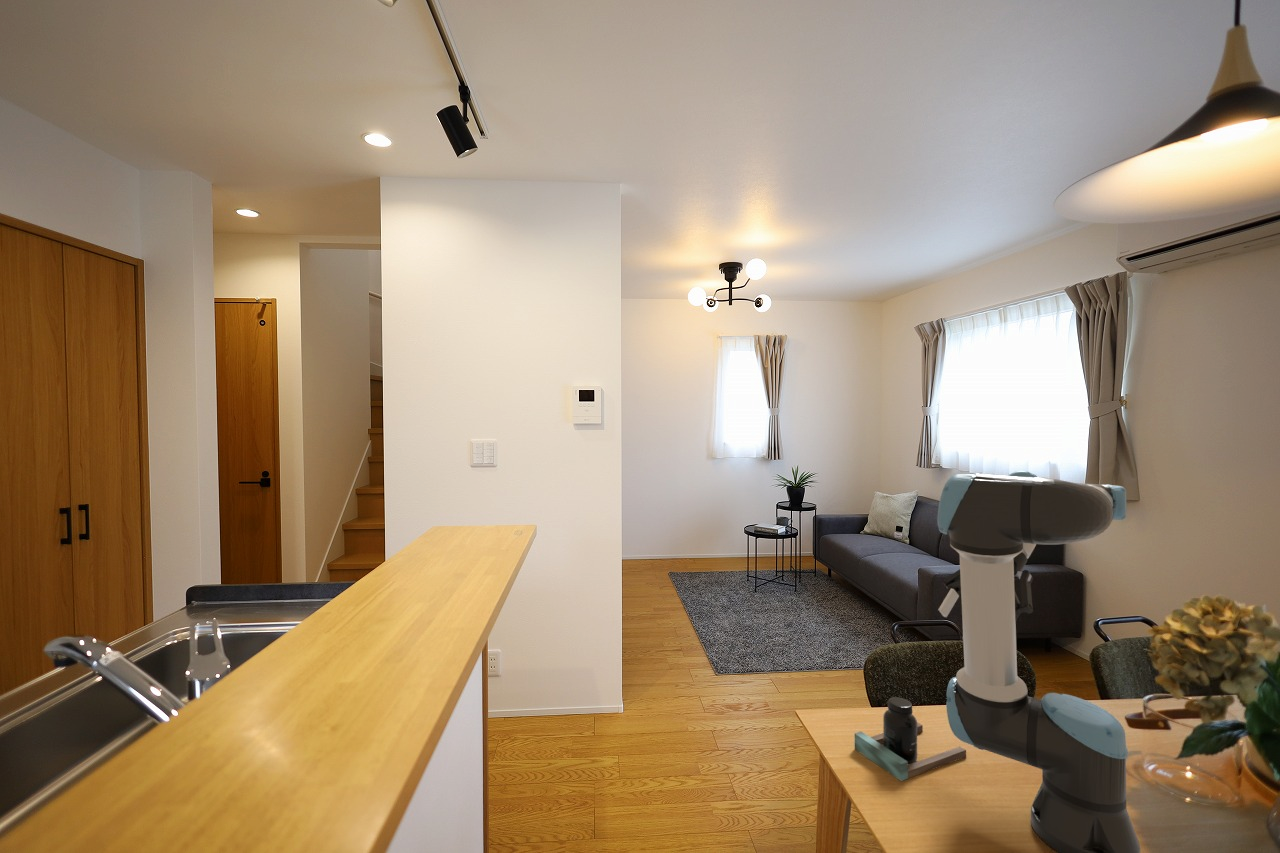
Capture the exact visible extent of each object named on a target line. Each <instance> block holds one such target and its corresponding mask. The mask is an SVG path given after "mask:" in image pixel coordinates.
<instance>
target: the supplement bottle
mask: <svg viewBox="0 0 1280 853" xmlns="http://www.w3.org/2000/svg"><path fill="white" fill-rule="evenodd" d="M887 703H888V704H887V708H888V709H887V710H885V711H884V713H883V720H882V721H883V723H882V724H883V726H882V727H883V728H882V729H883V731H882V732H883V746H884V747H886V748H887V749H889V750H890V751H892V752H894V753H895V754H897V755H898V756H900V757H901V758H903V759H904V760H906V761H907V762H908V765H909V764H912V763H915V762H917V761H918V733H917V722H918V720H917V718H916V717H915V715H914V714H913V713H914V712H913V711H914V710H913V704H912V702H911V701H909V700H908V699H906V698H903V697H897V696H893V697H890V698H889V699H888V701H887Z"/></svg>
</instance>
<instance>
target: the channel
mask: <svg viewBox="0 0 1280 853" xmlns="http://www.w3.org/2000/svg"><path fill="white" fill-rule="evenodd" d="M923 729H924V728H923V724H922V723H920V722H918V721H917V734H919V733H922V732H923ZM854 750H856V751H857V752H858V753H860V754H862V755H863V756H864V757H866V758H867V759H868V760H870V761H871V762H873V763H874V764H876V765H877V766H878V767H880V768H881V769H883V770H884V769H885V770H884V771H885V772H887V773H888V772H889V773H888V774H890V775H891V776H893V777H894V778H895V779H897V780H899V781H900V782H902V781H906V780H907V779H910V777H911V778H913V777H916V776H919V775H920V774H923V773H927V772H928V770H929V771H931V769H932V770H934V769H933V768H935V769H937V768H939V766H940V767H942V765H943V766H945V765H948V764H950V762H951V763H953V762H956V761H958V759H959V760H961V759H963V758H967V749H965V748H963V747H962V746H961V745H960V746H957V747H954V748H951V749H949V750H946V751H942V752H941V753H938V754H937V753H936V754H935V755H932V756H929V757H926V758H923V759H921V760H919V761H918V760H917V761H915V762H914V763H912V764H908V762H907V761H906V760H904V759H903V758H901V757H900V756H898V755H897V754H895V753H894V752H892V751H890V750H889V749H887V748H886V747H884V746H883V733H879V734H875V735H873V736H869V735H867V734H866V733H864V732H863V731H858V732H855V733H854ZM955 760H956V761H955ZM936 767H937V768H936ZM926 771H927V772H926Z"/></svg>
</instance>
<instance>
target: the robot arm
mask: <svg viewBox="0 0 1280 853" xmlns="http://www.w3.org/2000/svg"><path fill="white" fill-rule="evenodd" d="M1126 518H1127V489H1126V488H1125V487H1124V486H1121V485H1114V484H1113V485H1112V484H1108V483H1107V484H1106V483H1105V484H1104V483H1103V484H1102V483H1101V484H1098V483H1079V482H1077V483H1076V482H1071V481H1067V480H1061V479H1056V478H1049V477H1040V476H1039V477H1038V476H1037V474H1034V473H1032V472H1029V471H1026V470H1025V471H1024V470H1019V471H1014V472H1012V473H1010V474H1008V475H1002V474H1001V475H999V474H984V473H982V474H981V473H978V472H977V473H957V474H954V475H951V476H950V477H949V478H948V479H947V480H946V482H945V483H944V486H943V489H942V492H941V495H940V498H939V504H938V509H937V522H936V523H937V526H938V531H939V532H940V533H942V534H943V535H949V546H950V547H951V549H953V550H955V552H957V553H958V555H959V569H958V570H956V571H955V572H954V573H952V574H951V575H950V576H949V575H948V577H946V578H945V579H944V580H943V581H942V584H943V585H944V587H946V589H947V590H946V591H945V593H944V595H943V596H942V600H943V601H942V603H940V604H941V605H939V607H938V609H937V611H939V613H940V614H941V616H942V617H944V618H947V617H948V616H949V614H950V613H951V611H952V609H953V607H954V606H955V603H956V602H957V601H958V599H959V597H961V615H962V619H961V620H962V636H963V637H962V641H963V642H962V643H963V659H964V660H963V663H964V664H963V667H961V668H960V669H959V670H958V671H957V672H956V674H955V675H956V676H954V677H952V678H950V680H949V682H948V685H947V688H946V702H945V703H946V704H945V705H946V706H945V707H946V714H947V715H946V716H947V721H948V724H949V727H950V729H951V731H952V733H953V735H954V736H955V737H956V738H957V739H958V740H960V742H963V743H966V744H967V745H971V746H973V747H974V748H976V749H978V750H982V751H983V750H984V751H986V752H987V751H988V752H990V753H992V754H996V755H997V756H1002V757H1003V758H1004V757H1005V758H1008V759H1010V760H1013V761H1016V762H1019V763H1022V764H1025V765H1028V766H1032V767H1034V768H1037V769H1040V770H1042V774H1041V776H1042V781H1041V784H1040V786H1039V788H1038V791H1037V793H1036V795H1035V798H1034V800H1033V802H1032V804H1031V808H1030V824H1031V827H1032V828H1033V831H1034V832H1035V834H1036V836H1038V837H1039V838H1040V839H1041V840H1042V842H1044V843H1045V844H1046V845H1047V846H1048V847H1050V848H1051V849H1053V850H1054V851H1055V852H1057V853H1141V845H1140V842H1139V838H1138V836H1137V833H1136V831H1135V830H1136V829H1134V828H1135V827H1134V825H1133V823H1132V820H1131V818H1130V813H1129V812H1128V808H1127V758H1128V755H1129V751H1128V748H1127V740H1126V739H1127V738H1126V737H1127V736H1126V731H1125V729H1124V726H1123V725H1122V723H1121V722H1120V721H1119V720H1118V719H1117V718H1116V717H1115V716H1114V715H1113V714H1111V713H1109V711H1107V710H1106V709H1104V708H1103V707H1101V706H1098V705H1097V704H1095V703H1093V702H1091V701H1089V700H1085V699H1083V698H1081V697H1078V696H1074V695H1071V694H1067V693H1057V692H1048V693H1046V694H1044V695H1043V696H1042V698H1041V699H1039V698H1035V697H1031V696H1029V695H1028V687H1027V684H1026V683H1025V681H1024V680H1023V679H1021V678H1020V676H1018V661H1017V659H1018V658H1017V628H1016V627H1017V626H1016V624H1017V623H1016V622H1017V620H1018V618H1019V617H1020V615H1021V614H1023V613H1027V614H1029V615H1030V614H1033V612H1034V606H1033V597H1032V583H1033V580H1034V577H1033V576H1032V575H1031V573H1030V572H1029V570H1027V569H1024V567H1025V566H1026V564H1027V562H1028V559H1029V558H1030V557H1031V555H1032V554H1033V552H1034V550H1035V547H1036V546H1037V545H1051V546H1052V545H1053V546H1055V545H1064V544H1072V543H1073V544H1074V543H1077V542H1083V541H1087V540H1089V539H1094V538H1095V537H1097V536H1099V535H1101V534H1103V533H1104V532H1106V530H1108V529H1109V527H1110V526H1111V524H1112V522H1113V521H1123V520H1125V519H1126ZM1023 569H1024V570H1023ZM1017 579H1019V585H1020V598H1021V599H1020V600H1021V602H1020V600H1019V597H1018V594H1017V592H1016V590H1015V580H1017ZM959 593H960V594H961V596H960V595H959Z"/></svg>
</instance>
